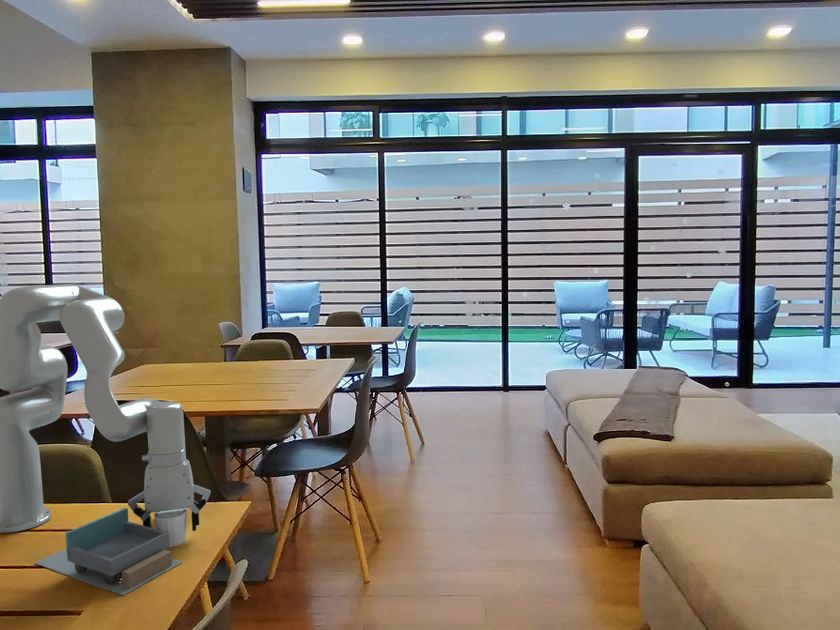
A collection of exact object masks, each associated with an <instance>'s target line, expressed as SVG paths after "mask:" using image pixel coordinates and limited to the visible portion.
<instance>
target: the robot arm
mask: <svg viewBox="0 0 840 630" xmlns="http://www.w3.org/2000/svg"><path fill="white" fill-rule="evenodd" d="M54 321H55V322H56V321H60V324H61V326H62V328H63V330H64V332H65V334H66V336H67V337H68V340H69V341H70V343H71V344H72V346H73V348H74V350H75V352H76V354H77V356H78V358H79V359H80V361H81V363H82V365H83V366H84V368H85V370H86V378H85V382H84V402H85V403H84V404H85V407H86V408H85V409H86V411H87V412H88V415H89V417H90V418H91V420H92V422H93V424H94V425H95V428H96V429H97V430H98V431H99V432H100V434H101V435H102V436H103V437H104V438H105V439H106V440H109V441H111V442H123V441H125V440H128V439H131V438H133V437H135V436H137V435H140V434H143V433H147V441H148V452H147V453H146V454H144V455H143V454H142V455H141V461H142V462H146V463H148V464H147V465H146V467H145V469H144V470H145V471H144V480H143V481H144V484H143V485H144V489H143V491H142V492H140V493H138V494H136V495H135V496H133V497H132V498H130V499H129V500H128V502H127V505H128V506H129V509H131V510H132V512H133V514H134V515H136V516H137V517H139V518H140V520H141V521H142V525H143V526H147V527H150V528H153V527H152V516H151V513H156V512H162V511H169V510H177V509H184V508H186V509H187V508H189V510H190V511H191V526H192V527H191V528H192V531H193V532H195V531H197V526H199V525H200V513H199V512H200V511H201V510H202V509H203V508H204V507H205V505H206V504H207V502H208V500H209V498H210V495H211V493H212V491H211V490H210V489H208V488H206V487H203V486H200V485H197V484H194V478H193V472H192V466H191V464H190V463H191V462H190V460H189V459H187V454H186V437H185V422H184V421H185V420H184V419H185V418H184V407H183V405H182V404H181V402H177V401H172V400H169V401H162V400H158V399H153V398H149V397H146V398H145V397H144V398H143V397H142V398H139V399H135V400H132V401H129V402H126V403H123V404H120V405H119V403H118V402H117V401H116V399H115V397H114V395H113V392H112V389H111V377H112V374H113V372H114V371H115V369H116V368H118V366H120V365H121V363H123V361H124V360H125V357H126V355H125V351H124V349H123V348H122V346H121V344H120V343H119V340H118V339H117V337H116V336H115V333H114V332H115V331H118V330H119V329H121V328H122V326H123V325H124V322H125V312H124V309H123V307H122V306H121V304H120V303H119V302H118V301H116V300H115V299H113V298H112V297H109V296H107V295H104V294H102V293H100V292H96V291H94V290H92V289H89V288H86V287H83V286H80V285H77V284H73V283H72V284H69V283H67V284H65V283H63V284H40V285H28V286H20V287H16V288H12V289H10V290H9V291H7V292H5V293H4V294H3V295H2V296H1V298H0V389H1V390H3V391H6V392H16V393H12V394H7V395H4V396H0V533H3V534H5V533H8V534H9V533H17V532H21V531H26V530H30V529H33V528H36V527H38V526H40V525H44V524H45V523H46V522H48V521H49V520H50V519H51V517H52V516H53V515H52V509H50V508H48V507H44V494H43V480H42V466H41V456H40V448H39V445H38V443H37V441H36V440H35V439H34V437H33V436H32V435H31V434H30V431H32V430H34V429H36V428H40V427H44V426H47V425H49V424H52V423H54V422H56V421H57V420H58V419H60V417H61V415H62V413H63V411H64V407H65V401H66V400H65V399H66V391H67V390H66V389H67V382H68V381H67V380H68V362H67V360H66V357H65V355H64V354H63V353H62V351H61V350H60V349H58V348H56V347H54V346H49V345H48V346H45V345H44V346H41V343H42V333H41V329H40V328H39V326H38V324H37V323H44V322H45V323H46V322H54ZM24 390H25V391H24ZM20 391H21V392H20ZM195 493H197V494H199V495H202V497H201V499H199V500H198V502H197V501H196V500H195ZM142 500H143V501H144V509H143V508H142V507H141V506H139V505H138V503H139V502H141V501H142Z"/></svg>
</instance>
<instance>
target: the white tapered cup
mask: <svg viewBox="0 0 840 630" xmlns="http://www.w3.org/2000/svg"><path fill="white" fill-rule="evenodd" d="M187 513H188V511H187V508H184V509H177V510H169V511H162V512H154V514H153V515H154V523H155V527H156V528H155V529H158V530H161V531H165V532H168V533H169V541H170V546H169V547H168V548H173V546H174V547H177V546H180V545H182V544H183V543H185V542H186V538H187V537H186V536H187V518H188V517H187Z"/></svg>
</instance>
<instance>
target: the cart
mask: <svg viewBox="0 0 840 630" xmlns="http://www.w3.org/2000/svg"><path fill="white" fill-rule="evenodd" d="M128 510H129V509H128V508H127V507H123V508H121V509H119V510H116V511H114V512H112V513H109V514H107V515H104V516H102V517H99V518H97V519H95V520H92V521H90V522H87V523H85V524H83V525H80V526H78V527H76V528H74V529H71V530H68V531H66V532H65V541H66V542H65V544H66V549H67V559H68V561H69V562H72V563H75V564H74V566H75V570H76V571H77V572H78V573H82V572H85V571H86V570H87V568H89V569H92V570H95V571H98V572H101V573H103V577H104V580H105V582H106V583H108V584H110V583H112V582H114V581H116V579H117V575H116V574H117V573H119V572H121V571H123V570H125V569H127V568H129V567H131V566H133V565H135V564H137V563H139V562H140V561H142V560H144V559H146V558H148V557H150V556H152V555H155V554H157V553H159V552H161V551H163V550H167V548H170V547H169V546H170V541H169V533H168V532H165V531H161V530H158V529H156V528H153V527H152V528H150V527H147V526H143V524H140V523H135V522H132V521H129V511H128Z"/></svg>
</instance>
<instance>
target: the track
mask: <svg viewBox="0 0 840 630" xmlns="http://www.w3.org/2000/svg"><path fill="white" fill-rule="evenodd" d="M34 564H35V565H38V566H40V567H43V568H45V569H49V570H51V571H55V572H57V573H60V574H62V575H65V576H68V577H70V578H73V579H76V580H78V581H82V582H84V583H87V584H89V585H91V586H92V585H93V586H95V587H98V588H101V589H103V590H106V591H108V590H109V592H111V591H112V593H114V592H115V594H117V593H118V594H117V595H119V594H120V596H122V595H123V597H124V596H126V595H127V593H128V594H129V593H131V592H133V591H135V590H137V589H139V588H140V587H142V586H143V584H144V583H146V582H147V583H149V582H151V581H152V580H151V579H153V578H154V579H156V578H158V577H160V576H161V575H160V574H162V573H163V574H165V573H167V572H168V571H167V570H169V569H170V570H172V569H174V568H176V567H177V565H178V566H180V565H182V564H183V561H180V560H178V559H175V558H173V557H172V551H170V550H167V549H164V550H163V551H161V552H159V553H157V554H155V555H152V556H150V557H148V558H146V559H144V560H142V561H140V562H139V563H137V564H135V565H133V566H131V567H129V568H127V569H125V570H123V571H121V572H119V573H117V574H116V575H117V579H116V581H114V582H112V583H110V584H108V583H106V582H105V580H104V577H103V573H101V572H98V571H95V570H92V569H89V568H87V570H86V571H85V572H82V573H78V572H77V571H76V570H75V566H74V564H75V563H72V562H69V561H68V559H67V548H65V549H63V550H61V551H59V552H56V553H54V554H52V555H50V556H47V557H45V558H43V559H40V560H38V561H37V562H34ZM175 566H176V567H175ZM173 567H174V568H173ZM171 568H172V569H171ZM170 570H169V571H170ZM166 571H167V572H166ZM164 572H165V573H164ZM163 574H162V575H163ZM159 575H160V576H159ZM157 576H158V577H157ZM121 578H122V580H120V579H121ZM154 579H153V580H154ZM150 580H151V581H150ZM121 581H122V582H121ZM148 581H149V582H148ZM119 582H121V583H119ZM147 583H146V584H147ZM144 585H145V584H144ZM139 586H140V587H139ZM136 588H137V589H136ZM132 590H133V591H132Z"/></svg>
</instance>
